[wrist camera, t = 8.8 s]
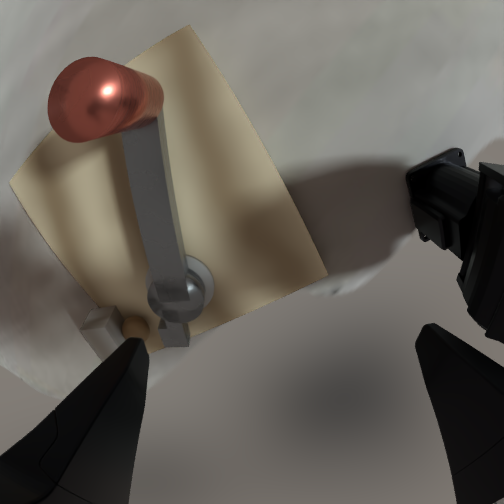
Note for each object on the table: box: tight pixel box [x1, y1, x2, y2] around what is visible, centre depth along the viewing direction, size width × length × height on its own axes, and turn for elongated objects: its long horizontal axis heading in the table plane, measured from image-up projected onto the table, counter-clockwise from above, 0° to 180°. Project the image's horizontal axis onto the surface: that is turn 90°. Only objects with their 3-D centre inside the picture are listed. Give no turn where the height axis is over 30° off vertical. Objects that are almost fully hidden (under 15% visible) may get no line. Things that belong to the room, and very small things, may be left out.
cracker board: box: [9, 25, 328, 362], centre depth 18 cm, size 20×20×4 cm
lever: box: [48, 57, 206, 347], centre depth 14 cm, size 4×19×8 cm, turn 4°
